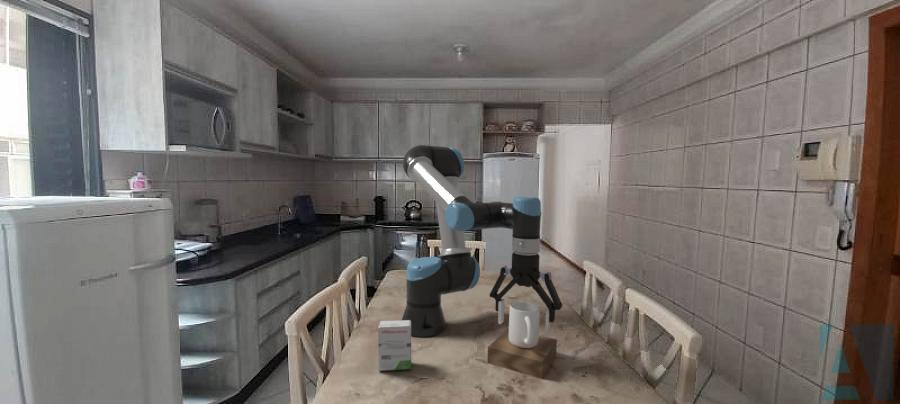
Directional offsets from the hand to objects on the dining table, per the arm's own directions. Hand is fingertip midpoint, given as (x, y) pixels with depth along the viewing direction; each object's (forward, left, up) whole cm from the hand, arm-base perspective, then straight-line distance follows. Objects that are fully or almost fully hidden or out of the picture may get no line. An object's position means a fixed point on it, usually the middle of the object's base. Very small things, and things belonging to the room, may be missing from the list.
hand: (523, 327), depth 99 cm
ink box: (-28, -22, -9) cm, 37 cm away
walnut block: (0, 0, -9) cm, 9 cm away
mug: (+1, -1, -5) cm, 5 cm away
